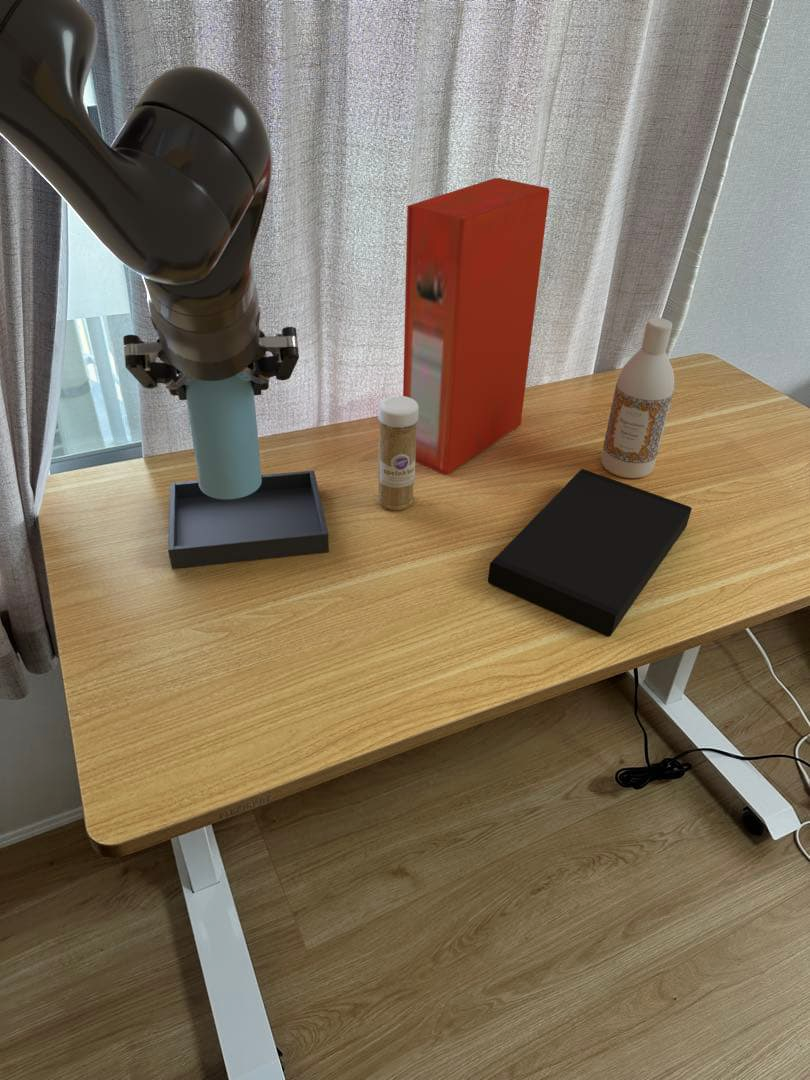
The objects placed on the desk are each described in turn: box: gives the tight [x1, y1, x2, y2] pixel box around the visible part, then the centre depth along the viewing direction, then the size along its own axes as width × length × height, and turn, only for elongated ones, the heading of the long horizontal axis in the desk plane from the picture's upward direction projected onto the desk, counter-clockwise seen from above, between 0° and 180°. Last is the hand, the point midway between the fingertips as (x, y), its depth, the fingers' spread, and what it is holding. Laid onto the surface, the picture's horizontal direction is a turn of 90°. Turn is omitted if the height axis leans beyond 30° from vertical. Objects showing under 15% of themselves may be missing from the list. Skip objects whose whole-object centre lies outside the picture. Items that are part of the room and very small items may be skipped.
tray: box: [167, 470, 330, 570], centre depth 93 cm, size 17×13×3 cm
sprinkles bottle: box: [376, 395, 419, 511], centre depth 95 cm, size 5×5×13 cm
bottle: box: [185, 376, 262, 499], centre depth 73 cm, size 6×6×18 cm
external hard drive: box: [487, 468, 693, 638], centre depth 91 cm, size 14×23×3 cm, turn 146°
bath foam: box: [600, 317, 675, 479], centre depth 101 cm, size 7×7×20 cm
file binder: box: [402, 177, 550, 475], centre depth 101 cm, size 8×17×32 cm, turn 141°
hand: (219, 387), depth 74 cm, fingers closed on bottle, 6 cm apart
